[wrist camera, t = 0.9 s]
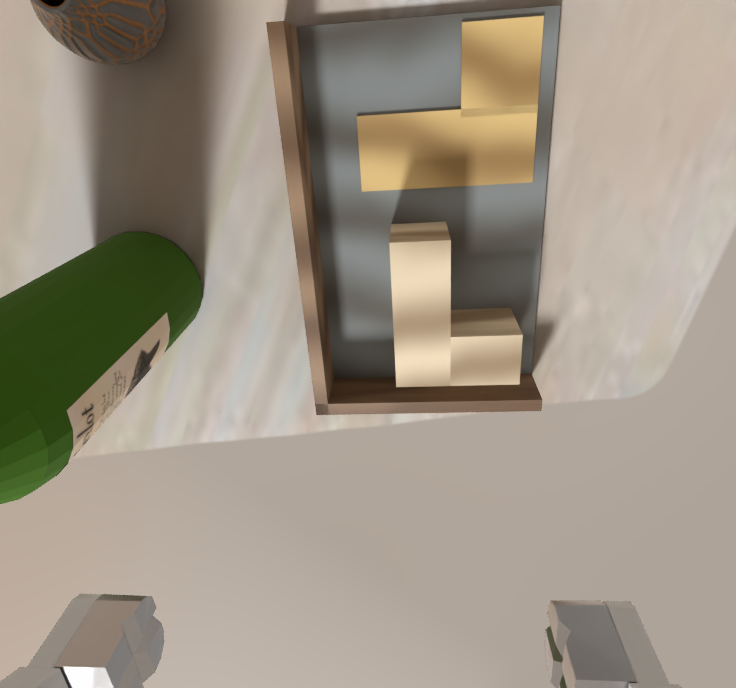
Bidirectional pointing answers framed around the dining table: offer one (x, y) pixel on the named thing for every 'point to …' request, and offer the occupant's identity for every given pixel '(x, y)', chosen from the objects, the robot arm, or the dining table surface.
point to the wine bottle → (84, 348)
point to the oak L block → (444, 319)
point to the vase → (104, 27)
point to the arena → (414, 184)
